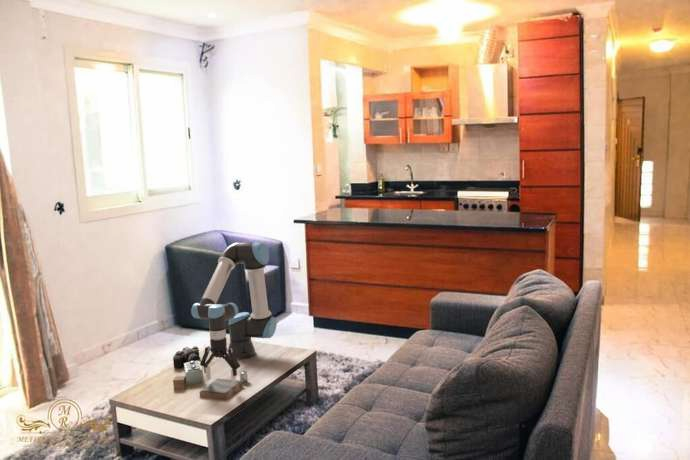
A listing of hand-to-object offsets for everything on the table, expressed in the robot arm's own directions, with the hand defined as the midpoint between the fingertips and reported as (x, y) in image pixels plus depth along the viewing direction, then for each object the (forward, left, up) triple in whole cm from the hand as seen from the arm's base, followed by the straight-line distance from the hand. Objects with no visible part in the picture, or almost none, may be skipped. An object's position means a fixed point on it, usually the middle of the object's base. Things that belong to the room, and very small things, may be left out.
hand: (221, 381), depth 273 cm
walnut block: (0, -23, -5) cm, 24 cm away
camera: (-27, -35, -6) cm, 44 cm away
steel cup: (-13, +5, -5) cm, 15 cm away
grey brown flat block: (0, 0, -5) cm, 5 cm away
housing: (-11, -22, -5) cm, 25 cm away
